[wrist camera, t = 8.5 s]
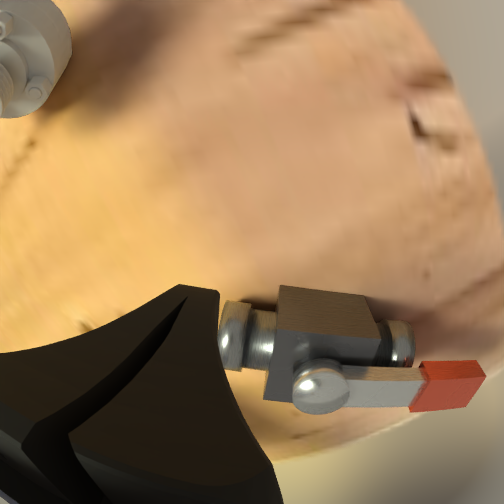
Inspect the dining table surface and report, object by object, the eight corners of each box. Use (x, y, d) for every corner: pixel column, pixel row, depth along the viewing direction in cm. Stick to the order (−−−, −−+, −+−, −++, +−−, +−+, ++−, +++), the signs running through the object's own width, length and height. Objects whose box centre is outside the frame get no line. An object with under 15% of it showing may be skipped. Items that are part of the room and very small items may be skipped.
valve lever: (288, 389, 17) (287, 412, 16) (298, 352, 16) (299, 375, 14) (456, 391, 17) (465, 408, 15) (476, 358, 15) (487, 376, 14)
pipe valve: (378, 361, 22) (392, 406, 18) (225, 345, 23) (213, 391, 18) (404, 300, 20) (428, 341, 15) (231, 278, 21) (216, 319, 16)
